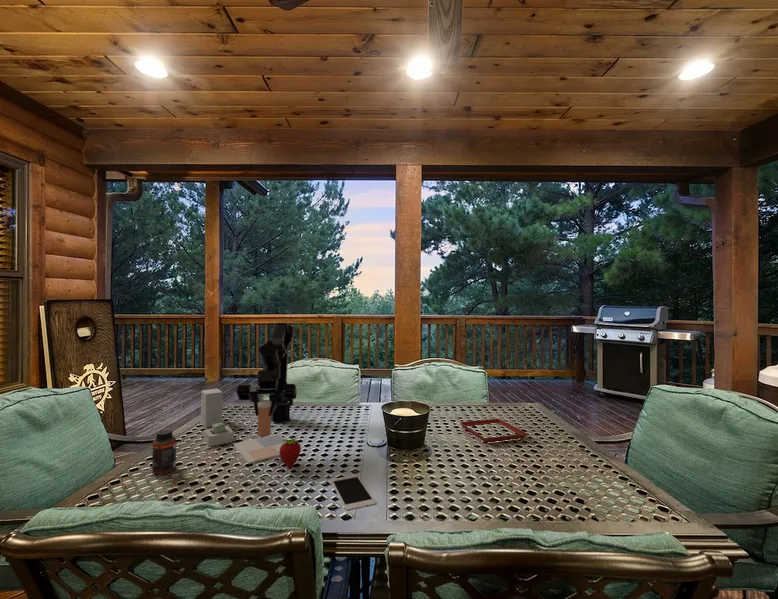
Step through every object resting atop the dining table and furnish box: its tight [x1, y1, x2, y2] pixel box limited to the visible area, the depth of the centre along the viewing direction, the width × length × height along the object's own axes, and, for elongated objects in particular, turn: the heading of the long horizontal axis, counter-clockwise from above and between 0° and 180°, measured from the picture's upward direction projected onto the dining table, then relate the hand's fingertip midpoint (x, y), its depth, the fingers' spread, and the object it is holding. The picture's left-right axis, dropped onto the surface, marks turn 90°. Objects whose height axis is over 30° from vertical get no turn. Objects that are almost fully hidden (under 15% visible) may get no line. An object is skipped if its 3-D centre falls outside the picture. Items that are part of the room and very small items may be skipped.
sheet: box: [232, 433, 286, 465], centre depth 124 cm, size 16×18×1 cm
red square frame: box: [459, 418, 528, 443], centre depth 139 cm, size 18×18×3 cm
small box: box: [200, 388, 224, 428], centre depth 148 cm, size 8×6×13 cm
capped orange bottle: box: [257, 399, 272, 438], centre depth 119 cm, size 4×4×10 cm
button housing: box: [203, 425, 235, 448], centre depth 130 cm, size 8×8×4 cm
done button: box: [211, 422, 226, 434], centre depth 130 cm, size 4×4×4 cm
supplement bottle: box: [151, 429, 177, 475], centre depth 107 cm, size 6×6×11 cm
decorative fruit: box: [279, 434, 302, 469], centre depth 110 cm, size 6×8×10 cm
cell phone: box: [330, 474, 377, 511], centre depth 97 cm, size 8×16×1 cm, turn 22°
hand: (263, 415), depth 118 cm, fingers closed on capped orange bottle, 4 cm apart
